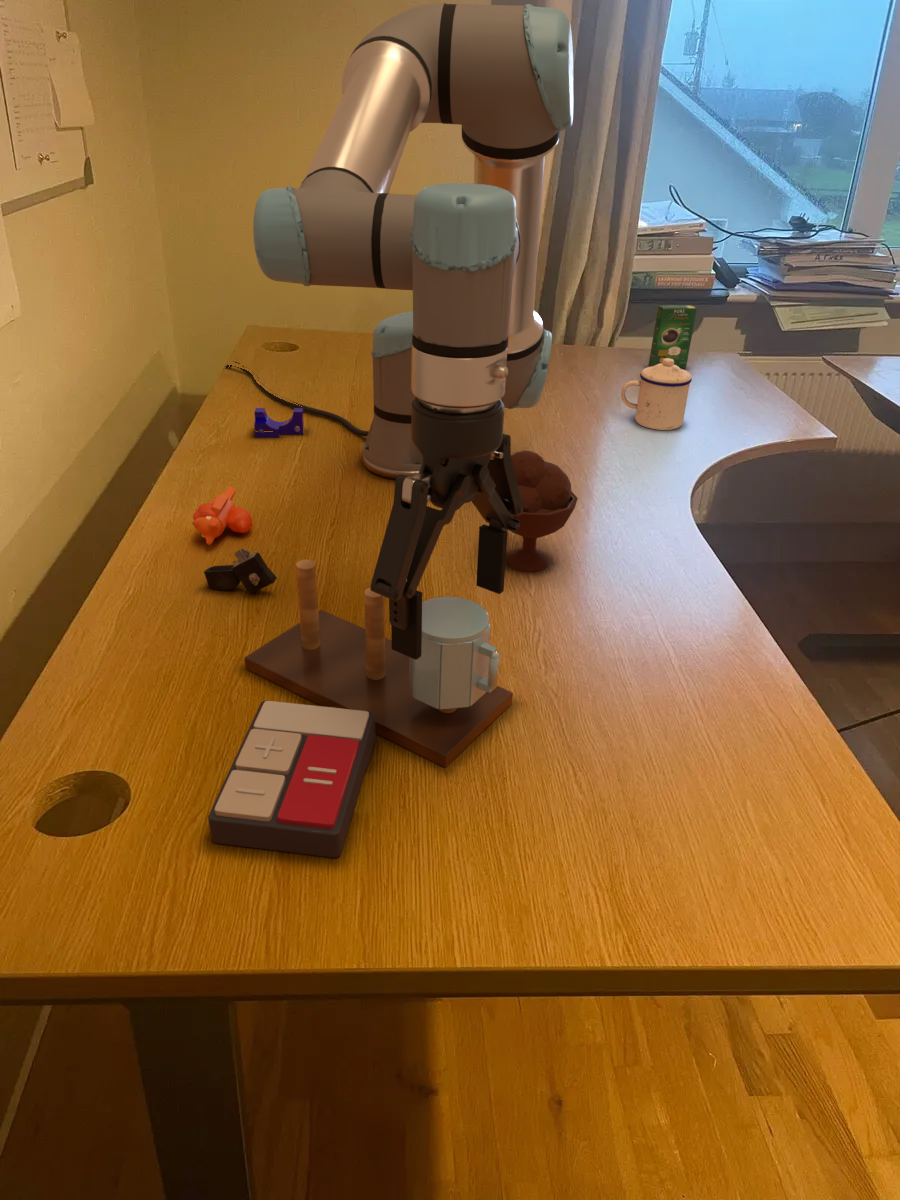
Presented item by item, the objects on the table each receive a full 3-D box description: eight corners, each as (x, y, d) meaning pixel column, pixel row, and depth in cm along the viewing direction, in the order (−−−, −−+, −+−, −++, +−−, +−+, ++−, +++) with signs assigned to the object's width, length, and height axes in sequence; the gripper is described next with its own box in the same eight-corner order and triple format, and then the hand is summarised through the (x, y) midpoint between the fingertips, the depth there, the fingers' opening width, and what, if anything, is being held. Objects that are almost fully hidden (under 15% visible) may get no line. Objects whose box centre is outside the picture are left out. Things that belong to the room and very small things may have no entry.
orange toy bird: (215, 473, 124) (188, 511, 113) (267, 492, 125) (245, 531, 114) (207, 504, 126) (181, 543, 116) (258, 522, 127) (236, 562, 117)
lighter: (221, 609, 109) (195, 576, 107) (228, 601, 111) (202, 568, 109) (271, 585, 106) (245, 550, 104) (277, 577, 107) (252, 542, 105)
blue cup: (395, 690, 86) (395, 620, 81) (438, 655, 91) (440, 588, 87) (474, 726, 81) (478, 654, 77) (514, 688, 86) (520, 619, 82)
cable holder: (255, 437, 151) (253, 414, 149) (257, 430, 154) (255, 407, 152) (302, 437, 152) (301, 415, 150) (304, 430, 155) (302, 408, 153)
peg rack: (245, 668, 95) (234, 575, 89) (320, 620, 103) (316, 532, 97) (445, 768, 82) (448, 667, 76) (512, 703, 91) (520, 608, 85)
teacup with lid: (682, 416, 167) (692, 354, 161) (685, 433, 159) (696, 368, 153) (617, 410, 168) (625, 349, 162) (617, 427, 160) (626, 363, 154)
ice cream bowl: (502, 587, 111) (510, 476, 103) (476, 546, 120) (482, 440, 112) (581, 578, 113) (595, 468, 106) (550, 538, 123) (560, 435, 115)
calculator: (204, 812, 72) (261, 692, 84) (211, 848, 74) (265, 726, 86) (338, 828, 71) (375, 704, 83) (340, 864, 73) (376, 738, 85)
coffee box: (681, 365, 195) (692, 303, 188) (687, 369, 193) (698, 306, 186) (647, 366, 193) (656, 304, 186) (653, 370, 191) (662, 307, 184)
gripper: (401, 457, 61) (401, 701, 72) (572, 369, 78) (551, 576, 90) (318, 431, 64) (330, 668, 76) (500, 353, 82) (488, 554, 93)
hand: (450, 619), depth 83 cm, fingers open, 13 cm apart
